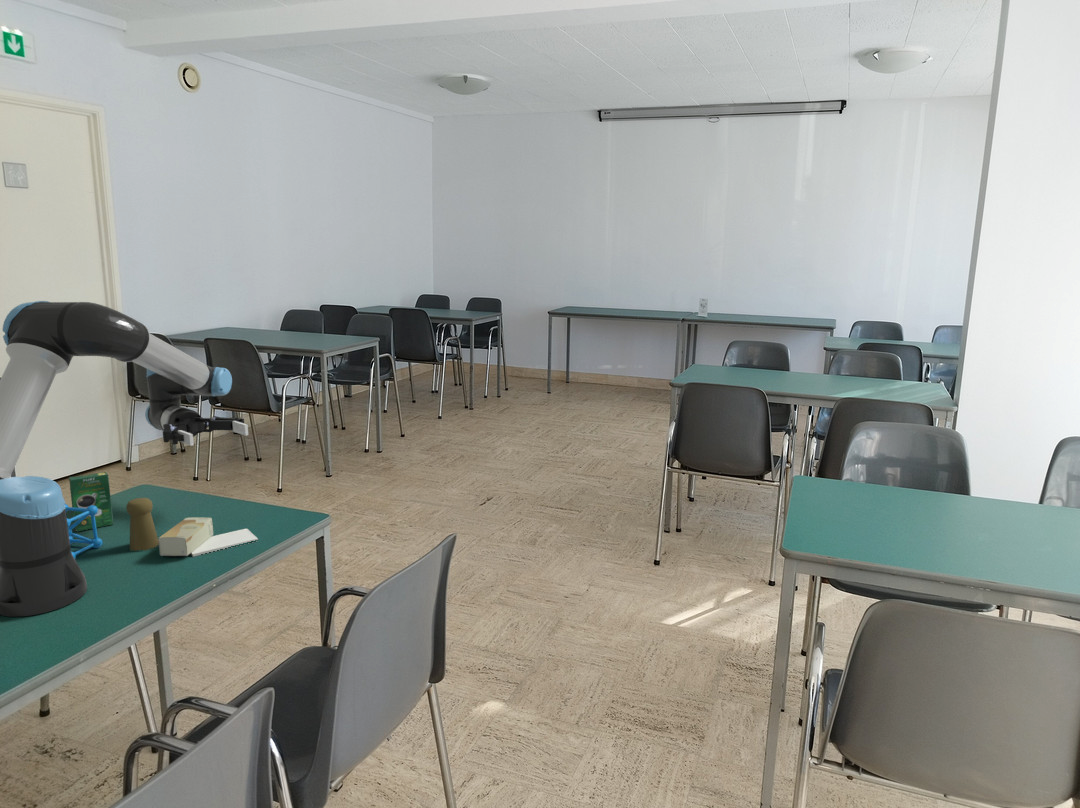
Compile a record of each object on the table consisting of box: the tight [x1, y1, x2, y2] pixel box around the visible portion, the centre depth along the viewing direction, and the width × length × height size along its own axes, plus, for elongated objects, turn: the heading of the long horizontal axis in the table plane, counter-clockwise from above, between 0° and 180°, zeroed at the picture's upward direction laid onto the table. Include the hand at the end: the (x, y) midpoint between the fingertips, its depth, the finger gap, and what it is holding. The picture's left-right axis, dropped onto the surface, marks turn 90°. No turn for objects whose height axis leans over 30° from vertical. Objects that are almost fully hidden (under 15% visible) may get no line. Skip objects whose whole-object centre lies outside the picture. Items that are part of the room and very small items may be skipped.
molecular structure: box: [65, 503, 104, 560], centre depth 166 cm, size 10×10×10 cm
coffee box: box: [68, 471, 114, 533], centre depth 181 cm, size 8×3×13 cm, turn 129°
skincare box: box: [158, 516, 214, 557], centre depth 169 cm, size 6×4×12 cm
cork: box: [125, 497, 159, 552], centre depth 170 cm, size 6×6×11 cm
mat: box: [189, 528, 259, 558], centre depth 172 cm, size 14×8×1 cm, turn 128°
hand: (219, 434), depth 183 cm, fingers open, 13 cm apart
